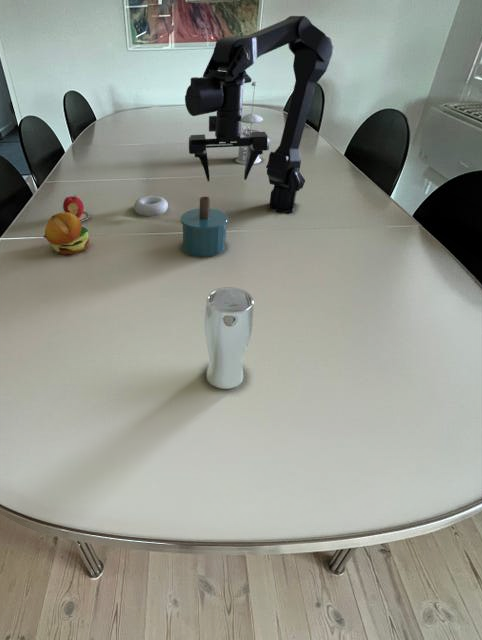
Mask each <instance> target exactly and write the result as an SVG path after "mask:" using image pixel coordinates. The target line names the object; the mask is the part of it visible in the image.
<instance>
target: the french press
mask: <svg viewBox="0 0 482 640" xmlns="http://www.w3.org/2000/svg"><path fill="white" fill-rule="evenodd" d="M251 86H252V87H253V89H255V87H257V86H258V82H256V81H252V82H251ZM252 94H253V96H252V101H254V98H255V92H253V93H252ZM251 108H252V109H251V113H248V114H246V115H243V116H242V120H241V123H245V124H250V125H252V124H257V123H261V122H263V120H264V118H263V117H262V116H260V115H259V114H256V113H255V114H254V113H253V111H254V104H252V106H251ZM250 125H249V126H247V128H246V126H245V125H243V126H242V127H241V137H250V132H261V130H259V129H252V128H250ZM247 151H248V146H238V154H237V155H238V156H237V157H236V158H235V162H236V163H238V164H242V165H246V159H247ZM261 162H262V159H261V158H260V155H258V157H257V159H256V160H255V162H254V164H253V165H256V164H259V163H261Z"/></svg>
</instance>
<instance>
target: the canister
mask: <svg viewBox="0 0 482 640" xmlns="http://www.w3.org/2000/svg"><path fill="white" fill-rule="evenodd" d="M181 225H182V250H183V251H184V253H186V254H188V255H189V256H193V257H196V258H209V257H210V258H211V257H214V256H218V255H220V254H222V253H223V251H225V248H226V235H227V234H226V233H227V224H225V225H224V226H222V227H220V228H216V229H211V230H197V229H192V228H188V227H186V226H184V225H183V224H182V223H181Z"/></svg>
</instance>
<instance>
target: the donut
mask: <svg viewBox="0 0 482 640" xmlns="http://www.w3.org/2000/svg"><path fill="white" fill-rule="evenodd" d="M168 208H169V204H168V201H167V200H166V199H165V198H163V197H161V196H159V195H146V196H142V197H140V198H138V199H137V200H135V202H134V205H133V209H134V211H135V213H136V214H138V215H140V216H144V217H154V216H160V215H162V214H165V213H166V211H167V210H168Z"/></svg>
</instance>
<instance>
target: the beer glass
mask: <svg viewBox="0 0 482 640" xmlns="http://www.w3.org/2000/svg"><path fill="white" fill-rule="evenodd" d="M254 302H255V301H254V297H253V296H252V294H251V293H250V292H248V291H246V290H244V289H242V288H239V287H231V286H229V287H228V286H227V287H220V288H217V289H214V290H212V291H211V292H209V293H208V295H207V297H206V305H205V312H204V336H205V341H206V347H207V352H208V364H207V368H206V373H205V377H206V380H207V381H208V383H209V384H210V385H211V386H213V387H215V388H218V389H222V390H229V389H234V388H237V387H239V386H240V385H241V384H242V382H243V381H244V369H243V361H244V358H245V353H246V351H247V348H248V345H249V343H250V339H251V335H252V330H253V324H254V323H253V322H254Z"/></svg>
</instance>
